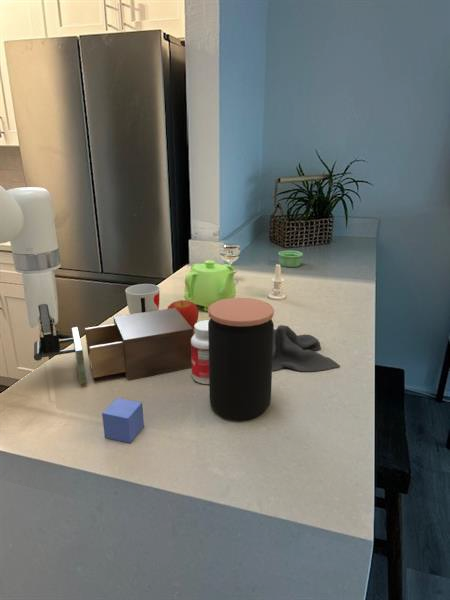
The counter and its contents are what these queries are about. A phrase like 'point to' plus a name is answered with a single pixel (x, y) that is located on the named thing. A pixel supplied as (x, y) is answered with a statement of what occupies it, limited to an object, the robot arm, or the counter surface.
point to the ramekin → (290, 258)
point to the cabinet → (155, 342)
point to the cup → (142, 298)
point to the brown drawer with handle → (93, 351)
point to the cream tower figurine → (277, 285)
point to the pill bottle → (200, 352)
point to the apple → (186, 311)
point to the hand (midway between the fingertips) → (51, 353)
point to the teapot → (209, 283)
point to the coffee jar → (240, 357)
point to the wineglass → (230, 253)
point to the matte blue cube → (123, 420)
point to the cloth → (298, 352)
